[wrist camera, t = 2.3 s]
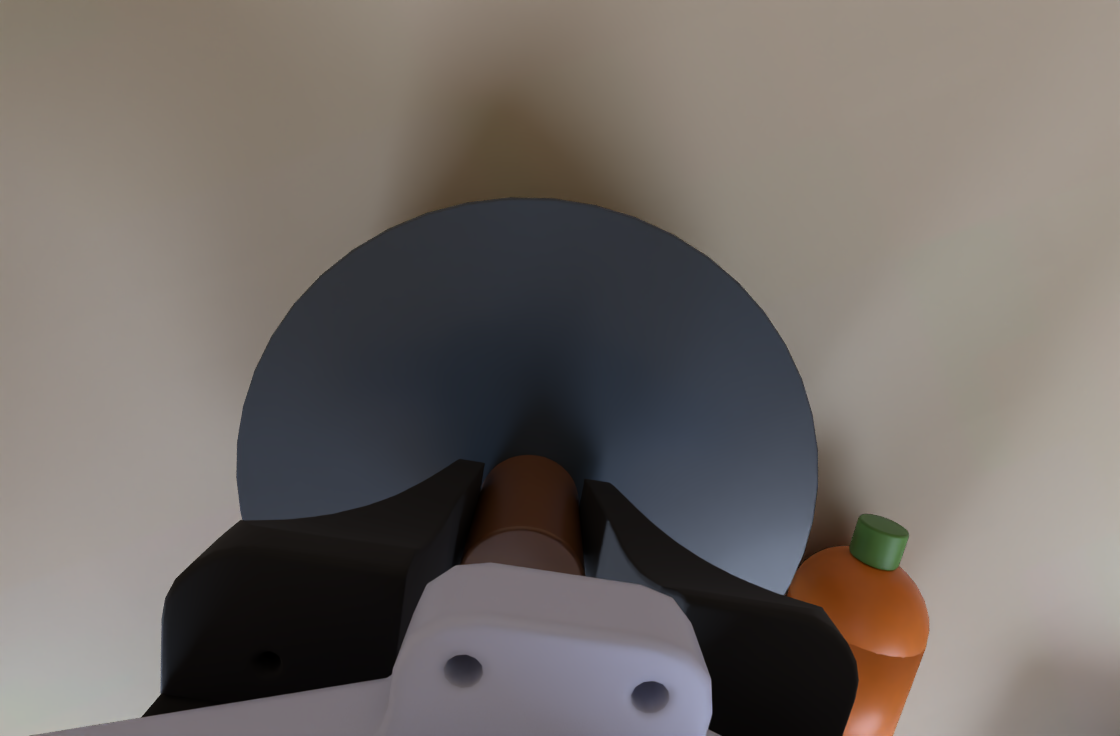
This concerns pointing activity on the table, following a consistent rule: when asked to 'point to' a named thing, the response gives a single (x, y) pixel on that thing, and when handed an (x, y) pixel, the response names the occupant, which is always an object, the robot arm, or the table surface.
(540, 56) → the table surface
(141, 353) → the table surface
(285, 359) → the lid
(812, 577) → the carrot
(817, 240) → the table surface
